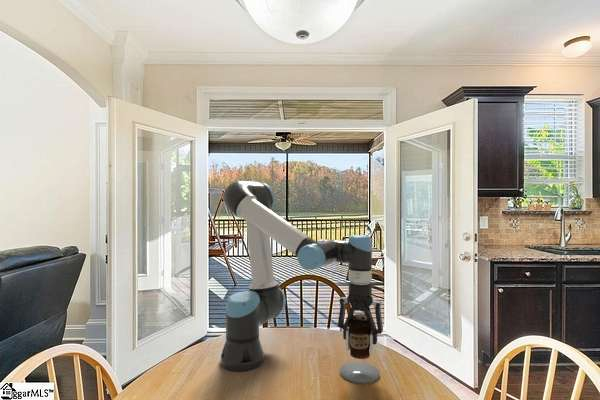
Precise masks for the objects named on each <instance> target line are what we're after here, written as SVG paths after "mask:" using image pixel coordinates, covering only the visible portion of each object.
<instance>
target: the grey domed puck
mask: <svg viewBox="0 0 600 400" xmlns="http://www.w3.org/2000/svg"><path fill="white" fill-rule="evenodd" d="M339 375H340V376H341V377H342V378H343V379H344V380H345V381H348V382H351V383H353V384H361V385H362V384H363V385H365V384H366V385H367V384H371V383H375V382H377V381H378V380H379V379H380V370H379V369H378V368H377V367H376V366H375V365H372V364H371V363H367V362H364V361H350V362H346V363H344V364H342V365H341V366H340V368H339Z"/></svg>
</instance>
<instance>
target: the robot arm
mask: <svg viewBox="0 0 600 400" xmlns="http://www.w3.org/2000/svg"><path fill="white" fill-rule="evenodd" d="M223 193H224V194H223V202H224V205H225V206H226V208H227V209H228V210H229V212H231V213H232V214H233V215H235V216H236V217H237V218H239V219H243V220H244V221H245V224H246V225H245V226H246V235H247V242H248V245H247V246H248V254H249V261H250V262H249V263H250V272H251V274H250V275H251V283H250V284H249V286H248V290H244V291H239V292H235V293H233V294H232V295H230V296H229V297H228V298H227V300H226V304H225V342H224V345H223V348H222V351H221V355H220V365H221V366H222V368H224V369H226V370H228V371H233V372H235V371H236V372H245V371H250V370H254V369H256V368H258V367H260V366H261V365H262V364H263V363H264V361H265V353H264V351H263V350H264V349H263V347H262V343H261V341H260V326H261V325H263V324H265V323H267V322H269V321H271V320H274V319H276V318H277V317H278V316H280V315H281V314H282V313H283V311H284V310H285V307H286V304H287V301H286V300H287V299H286V295H285V292H284V291H283V290H282V289H281V288H280V286H279V282H278V281H277V280H275V275H274V267H273V266H274V265H273V257H272V256H273V254H272V246H271V245H272V244H271V239H273V240H274V241H275V242H276V243H278V244H279V245H280V246H282V247H283V248H284V249H285V250H286V251H289V252H290V253H291V254H293V255H294V256H296V257H297V261H298V263H299V265H300V267H301V268H303V269H304V270H307V271H308V270H309V271H310V270H311V271H312V270H317V269H320V268H322V267H324V266H327V265H329V264H332V263H343V264H348V281H349V283H348V295H347V296H342V297H340V298H339V305H340V306H339V314H338V322H337V327H338V328H341V329H342V331H343V333H342V334H343V335H342V337H343V340H345V350H346V351H347V352H348V351H350V345H349V344H350V343H349V327H348V320H349V319H350V317H352V316H353V315H355V311H356V312H357V311H360V312H362V313H363V314H365V315H366V317H367V320H369V322H370V325H371V327H370V328H371V331H372V333H371V334H370V349H369V353H370V356H373V355H374V352H375V345H376V344H377V343H378V335H379V334H382V333H383V331H384V326H383V321H382V312H381V306H382V301H380V300H378V301H377V300H374V298H373V296H372V295H373V293H372V292H373V291H372V290H373V289H372V288H373V287H372V279H373V274H372V273H373V272H372V271H373V269H372V268H373V267H372V266H373V265H372V264H373V263H372V261H373V259H372V257H373V248H372V245H373V244H372V238H371V236H369V235H365V234H353V235H349V236H348V239H347V240H340V239H330V238H326V239H324V238H321V239H317V241H316V240H315V239H313V238H311V237H310V236H309V235H308V234H306V233H304V232H303V231H301V230H300V229H299V228H298V227H296V226H294V225H293V224H292V223H290V222H289V221H287V220H285V219H284V218H283V217H281V216H279V215H278V214H277V213H275V212H274V211H273V210H272V207H274V204H275V201H276V197H275V192H274V190H273V189H272V187H271V186H269V185H268V184H267V183H265V182H261V181H247V180H237V181H234V182H231V183H230V184H228V186H227V187H226V188H225V190H224V192H223ZM347 303H349V304H350V306H351V307H350V309H349V311H348V315H347V317H346V319H345V313H346V307H347ZM371 305H373V308H374V312H375V320H376V323H375V320H374V318H373V314H372V311H371V308H370V306H371ZM344 320H345V321H344Z"/></svg>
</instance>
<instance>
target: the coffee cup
mask: <svg viewBox="0 0 600 400" xmlns="http://www.w3.org/2000/svg"><path fill="white" fill-rule="evenodd" d="M370 327H371V325H370V322H369V320H367V317H366V315H365V314H364V313H356V314H355V313H354V314H353V316H352V317H350V319H349V320H348V328H349V343H350V344H349V345H350V349H349V353H350V356H351V357H352V358H354V359H357V360H358V359H359V360H366V359H369V358H370V357H371V355H370V334H371V333H372V331H371V328H370Z"/></svg>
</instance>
